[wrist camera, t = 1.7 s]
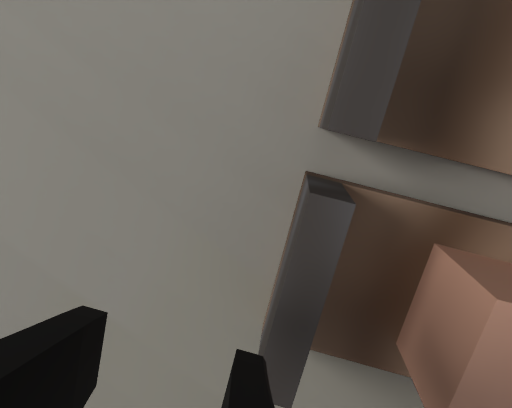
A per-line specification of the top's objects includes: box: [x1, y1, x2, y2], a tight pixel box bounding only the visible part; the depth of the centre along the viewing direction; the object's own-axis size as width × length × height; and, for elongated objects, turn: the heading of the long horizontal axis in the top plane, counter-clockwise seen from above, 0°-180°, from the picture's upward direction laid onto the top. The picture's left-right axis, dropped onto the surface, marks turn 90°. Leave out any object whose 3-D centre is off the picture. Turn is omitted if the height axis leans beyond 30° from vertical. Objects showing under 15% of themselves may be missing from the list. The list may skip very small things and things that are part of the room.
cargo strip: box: [258, 171, 512, 408], centre depth 15 cm, size 12×8×5 cm, turn 76°
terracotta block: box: [396, 243, 512, 408], centre depth 14 cm, size 5×5×5 cm
